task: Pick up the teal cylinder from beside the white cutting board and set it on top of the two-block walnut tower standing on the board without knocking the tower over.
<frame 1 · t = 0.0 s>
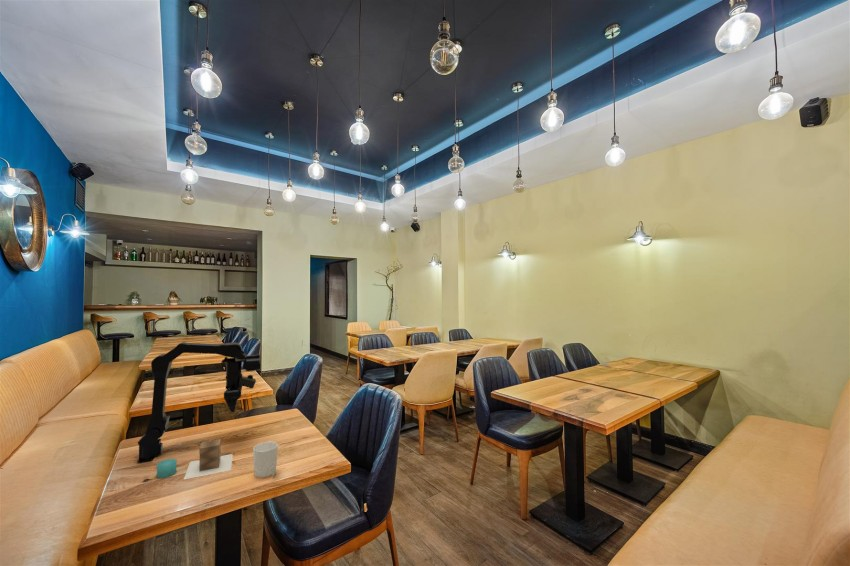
hand: (233, 409, 148), 15 cm above the table, tool pointing down, fingers open, 9 cm apart
white cup: (265, 475, 122), on the table
teal cylinder: (166, 477, 121), on the table
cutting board: (210, 468, 127), on the table
tower top: (210, 454, 127), point 5 cm above the table, touching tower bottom
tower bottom: (210, 465, 127), point 1 cm above the table, touching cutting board, tower top
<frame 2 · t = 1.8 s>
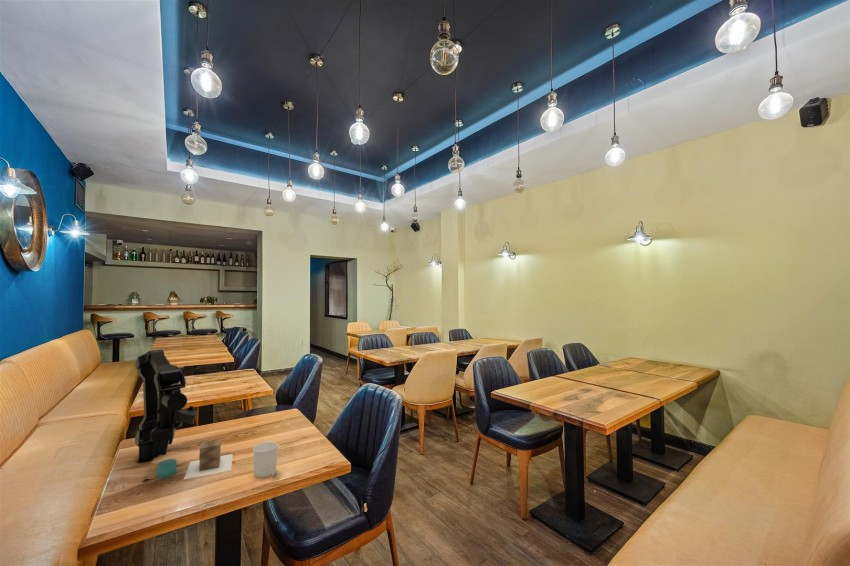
hand: (167, 449, 121), 9 cm above the table, tool pointing down, fingers open, 9 cm apart
nothing on the table moved.
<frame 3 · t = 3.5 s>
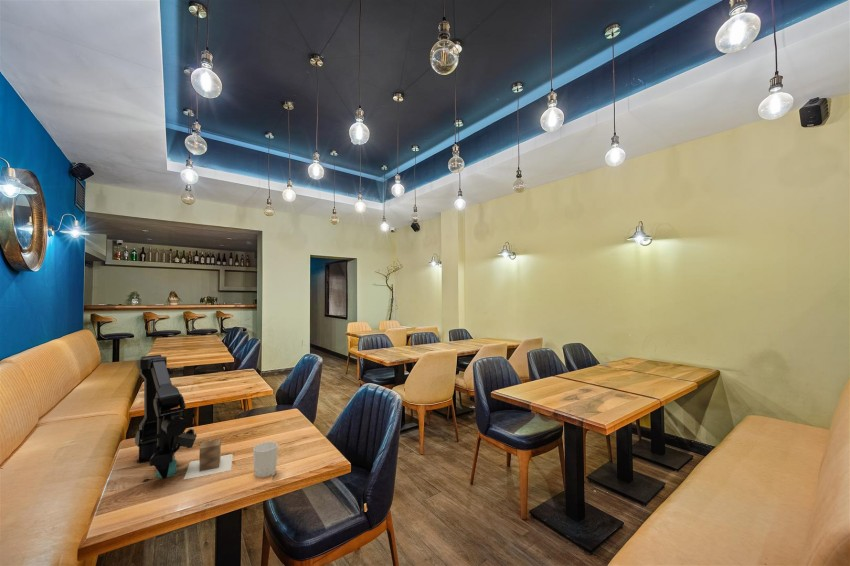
hand: (166, 473, 121), 1 cm above the table, tool pointing down, fingers closed on teal cylinder, 5 cm apart
teal cylinder: (166, 476, 121), on the table, touching gripper
everything else where it was.
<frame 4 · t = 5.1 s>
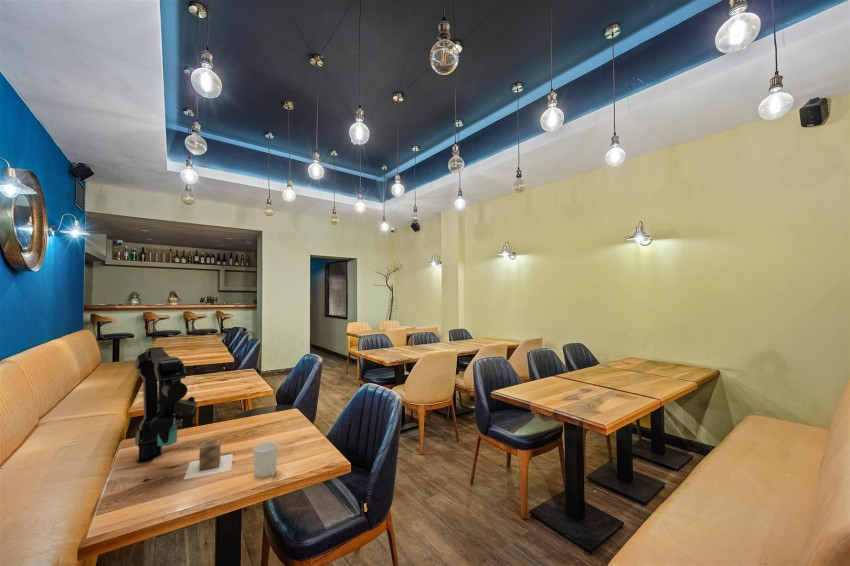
hand: (167, 439, 121), 13 cm above the table, tool pointing down, fingers closed on teal cylinder, 5 cm apart
teal cylinder: (167, 442, 121), point 12 cm above the table, touching gripper
everything else where it was.
when the fingers open (11 cm above the table, at t = 6.8 s): teal cylinder stays where it is, resting on tower top.
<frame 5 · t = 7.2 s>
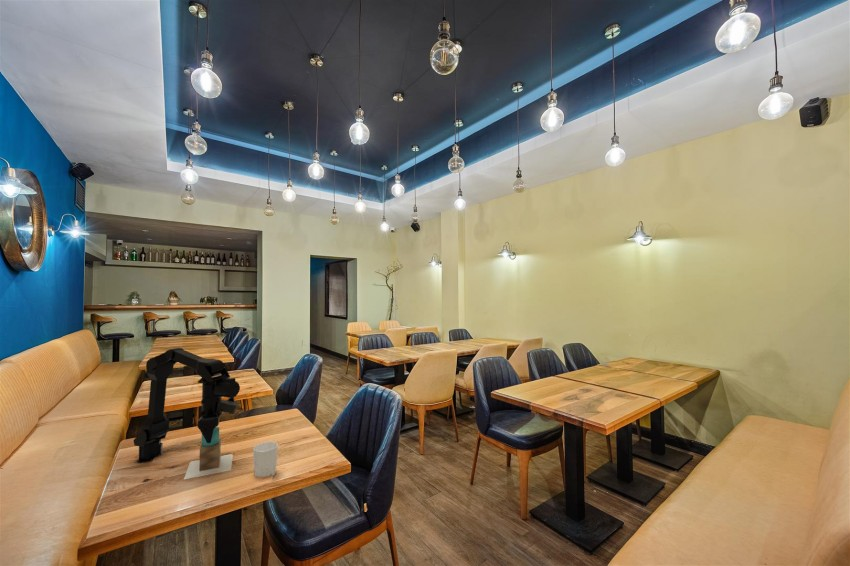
hand: (210, 438, 127), 11 cm above the table, tool pointing down, fingers open, 9 cm apart
teal cylinder: (210, 443, 127), point 9 cm above the table, touching tower top
tower top: (210, 454, 127), point 5 cm above the table, touching teal cylinder, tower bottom
everything else where it was.
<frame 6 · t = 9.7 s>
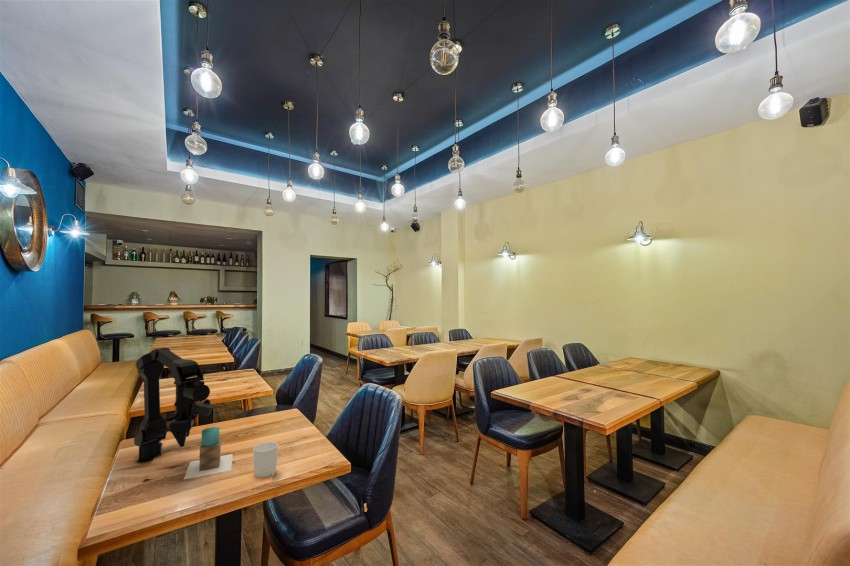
hand: (184, 441, 124), 11 cm above the table, tool pointing down, fingers open, 9 cm apart
nothing on the table moved.
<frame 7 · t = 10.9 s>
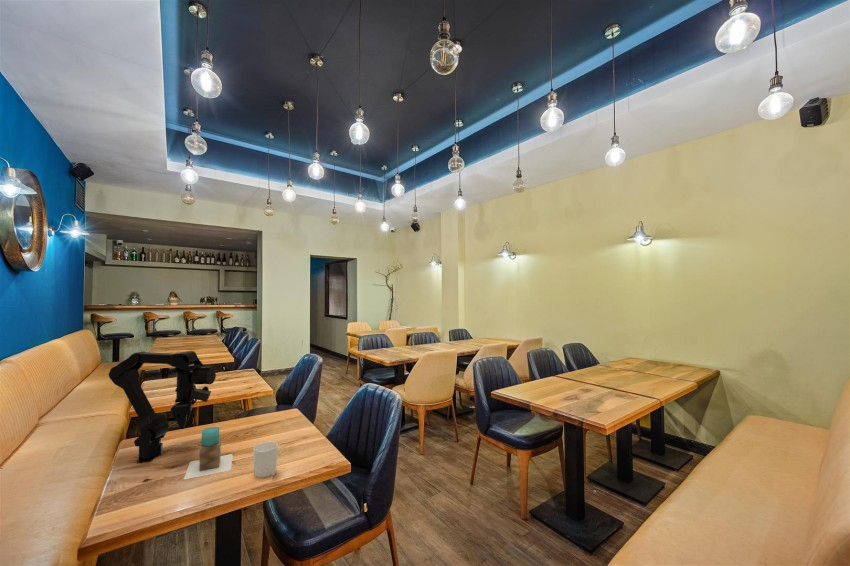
hand: (184, 424, 135), 13 cm above the table, tool pointing down, fingers open, 9 cm apart
nothing on the table moved.
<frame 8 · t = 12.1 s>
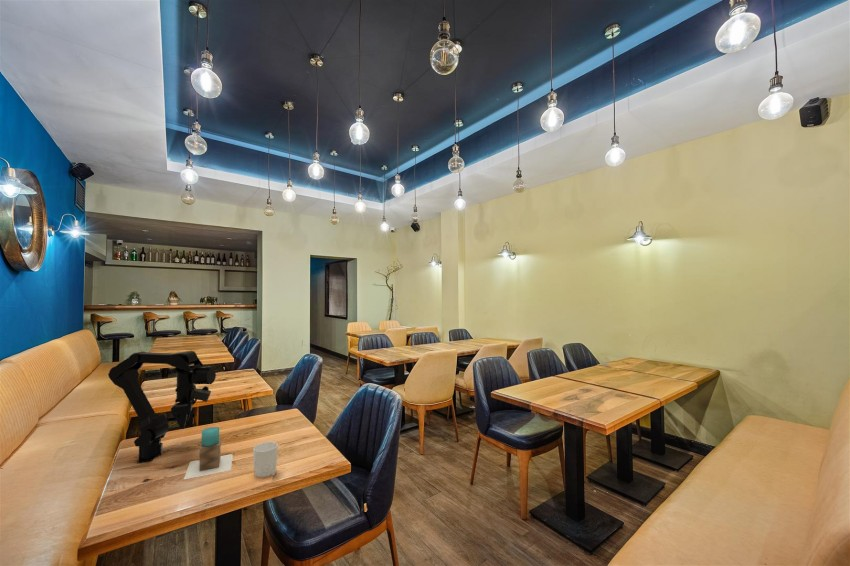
hand: (184, 424, 135), 13 cm above the table, tool pointing down, fingers open, 9 cm apart
nothing on the table moved.
at the end: teal cylinder 0.0 cm off-centre on the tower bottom, point 8.0 cm above the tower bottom's base; tower top tilted 0°; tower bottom moved 0.0 cm from its start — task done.
